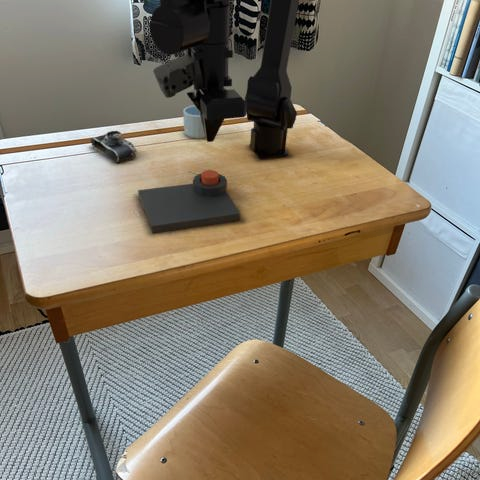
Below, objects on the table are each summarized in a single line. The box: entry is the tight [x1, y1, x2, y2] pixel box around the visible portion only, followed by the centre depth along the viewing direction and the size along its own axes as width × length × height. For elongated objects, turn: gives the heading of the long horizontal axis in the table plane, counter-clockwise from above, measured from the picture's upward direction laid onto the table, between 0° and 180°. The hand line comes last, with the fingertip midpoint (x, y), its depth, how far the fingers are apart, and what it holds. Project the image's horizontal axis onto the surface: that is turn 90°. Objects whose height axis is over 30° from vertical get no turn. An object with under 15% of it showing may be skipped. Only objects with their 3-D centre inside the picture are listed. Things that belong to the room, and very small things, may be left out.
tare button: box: [201, 169, 220, 185], centre depth 90 cm, size 3×3×2 cm
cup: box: [182, 105, 206, 140], centre depth 111 cm, size 6×6×5 cm
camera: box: [90, 130, 138, 163], centre depth 102 cm, size 5×10×4 cm, turn 41°
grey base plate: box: [137, 172, 241, 234], centre depth 88 cm, size 16×12×3 cm
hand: (209, 141), depth 87 cm, fingers closed
